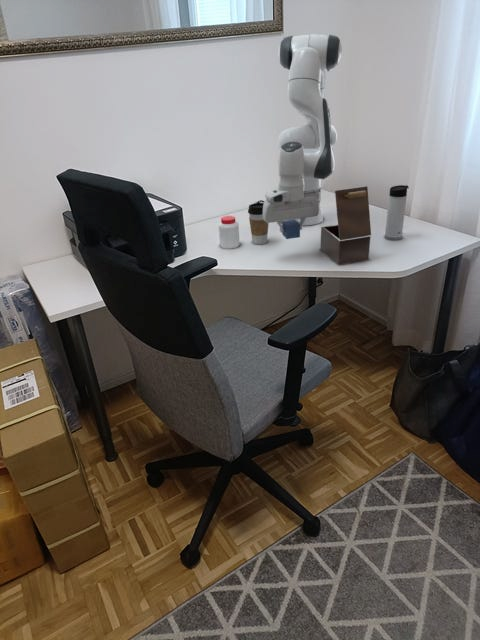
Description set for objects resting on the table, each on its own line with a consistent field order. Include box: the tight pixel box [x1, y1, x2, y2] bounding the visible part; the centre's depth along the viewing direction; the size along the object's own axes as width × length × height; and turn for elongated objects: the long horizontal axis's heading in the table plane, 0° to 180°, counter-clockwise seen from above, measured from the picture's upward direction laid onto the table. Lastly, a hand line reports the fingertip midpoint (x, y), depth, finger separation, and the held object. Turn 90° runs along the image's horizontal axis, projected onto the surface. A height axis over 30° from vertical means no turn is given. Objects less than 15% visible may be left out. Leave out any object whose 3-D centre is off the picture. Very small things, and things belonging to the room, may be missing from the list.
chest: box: [320, 224, 371, 266], centre depth 177 cm, size 16×12×9 cm
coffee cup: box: [247, 202, 269, 245], centre depth 191 cm, size 8×8×15 cm
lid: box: [334, 185, 372, 240], centre depth 165 cm, size 16×12×5 cm
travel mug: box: [384, 184, 409, 241], centre depth 186 cm, size 6×7×20 cm
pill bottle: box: [218, 215, 241, 250], centre depth 191 cm, size 8×8×11 cm
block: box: [281, 220, 301, 240], centre depth 176 cm, size 5×5×5 cm
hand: (290, 230), depth 176 cm, fingers closed on block, 5 cm apart
